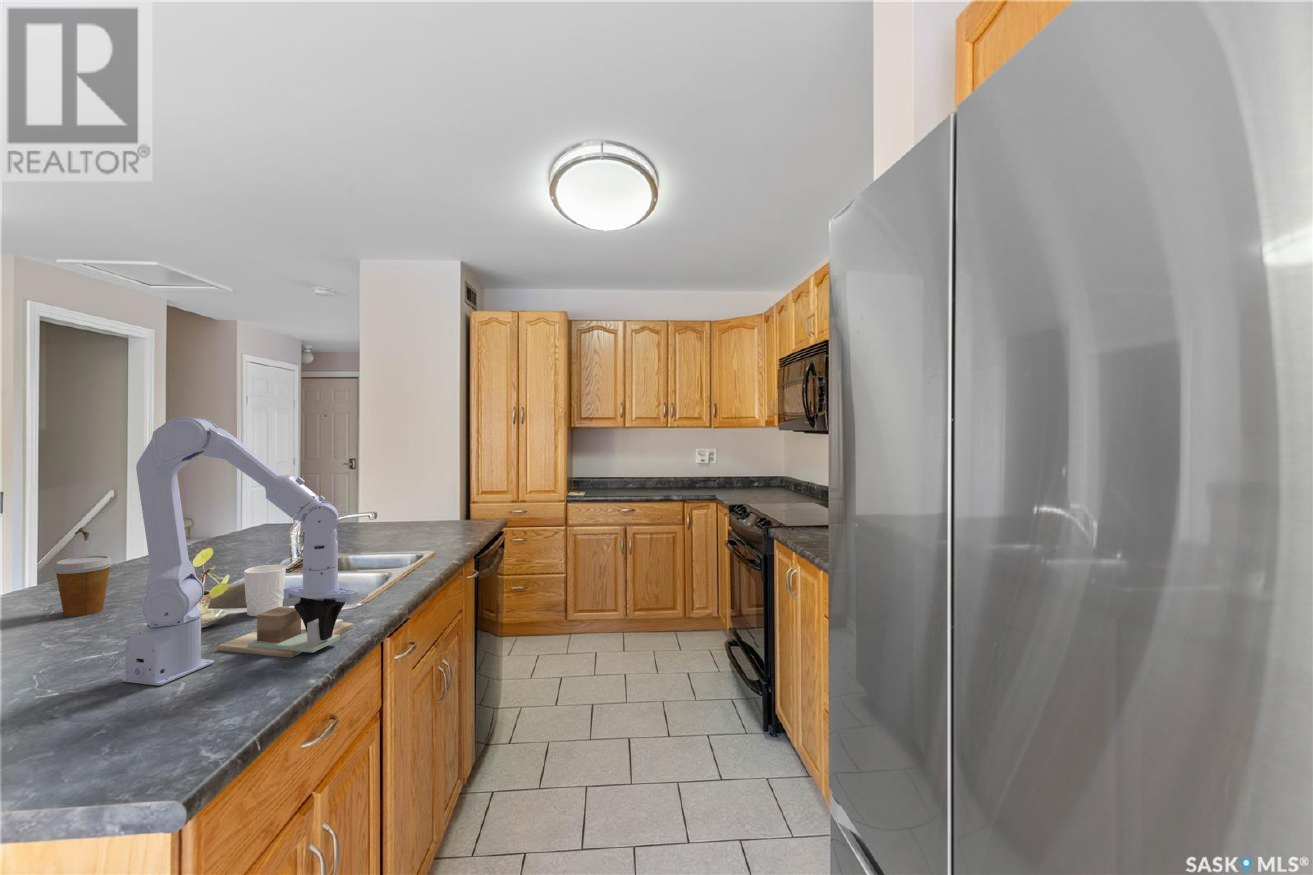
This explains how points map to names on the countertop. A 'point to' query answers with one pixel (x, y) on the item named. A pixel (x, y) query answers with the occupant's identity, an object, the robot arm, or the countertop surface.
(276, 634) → the walnut block
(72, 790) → the countertop surface
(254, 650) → the base
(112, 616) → the countertop surface
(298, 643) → the green strip
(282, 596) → the white cup
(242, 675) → the countertop surface
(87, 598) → the disposable coffee cup
